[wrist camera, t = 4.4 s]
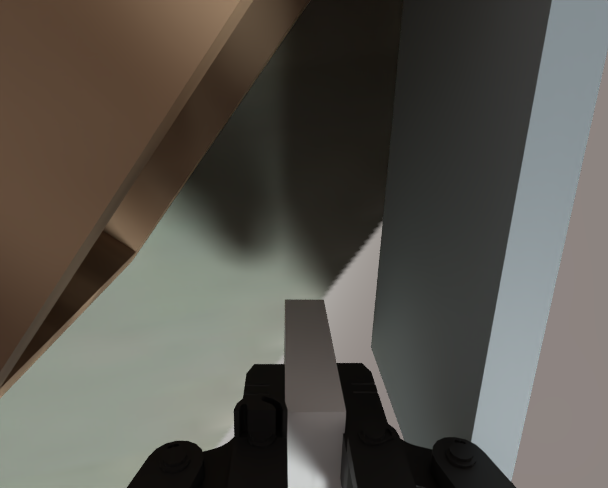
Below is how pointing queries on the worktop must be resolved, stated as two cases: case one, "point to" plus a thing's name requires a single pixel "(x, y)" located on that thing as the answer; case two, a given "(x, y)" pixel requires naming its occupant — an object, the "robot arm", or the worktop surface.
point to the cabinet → (106, 139)
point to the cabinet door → (480, 207)
